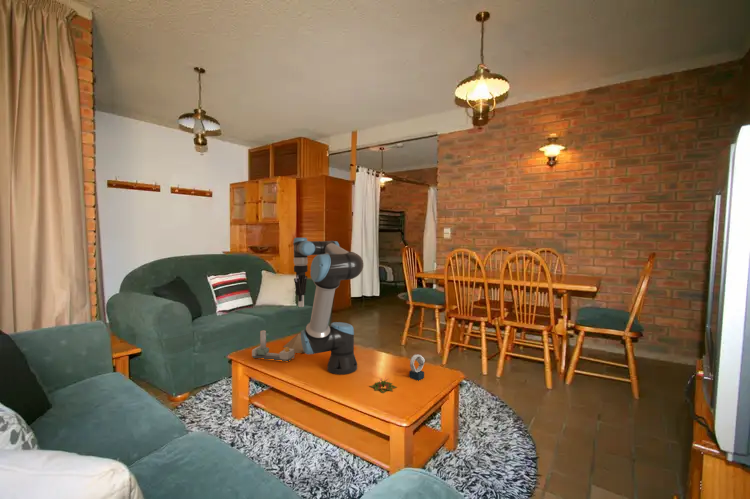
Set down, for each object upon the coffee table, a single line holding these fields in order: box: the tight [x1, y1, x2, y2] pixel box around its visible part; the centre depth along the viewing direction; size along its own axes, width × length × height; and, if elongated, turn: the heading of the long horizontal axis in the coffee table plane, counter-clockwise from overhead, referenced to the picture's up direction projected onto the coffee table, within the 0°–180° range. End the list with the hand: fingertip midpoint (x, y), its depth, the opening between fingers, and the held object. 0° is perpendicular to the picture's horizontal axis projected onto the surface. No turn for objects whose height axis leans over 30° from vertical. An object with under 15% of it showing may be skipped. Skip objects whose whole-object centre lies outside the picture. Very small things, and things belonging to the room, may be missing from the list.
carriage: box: [257, 329, 270, 355], centre depth 187 cm, size 4×5×13 cm
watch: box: [408, 353, 426, 382], centre depth 159 cm, size 6×8×11 cm
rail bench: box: [251, 345, 295, 362], centre depth 185 cm, size 22×7×5 cm, turn 75°
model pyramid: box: [282, 333, 306, 355], centre depth 200 cm, size 17×17×10 cm
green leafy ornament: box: [369, 377, 398, 394], centre depth 150 cm, size 12×12×5 cm
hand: (301, 306), depth 189 cm, fingers closed
